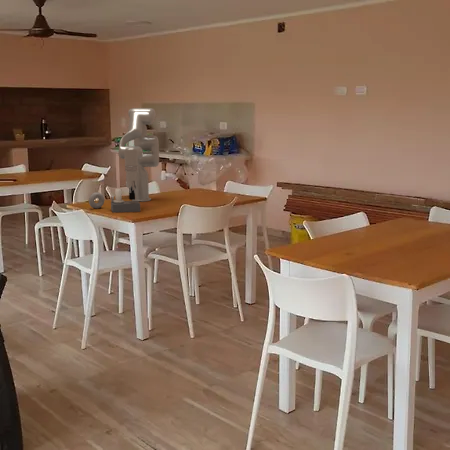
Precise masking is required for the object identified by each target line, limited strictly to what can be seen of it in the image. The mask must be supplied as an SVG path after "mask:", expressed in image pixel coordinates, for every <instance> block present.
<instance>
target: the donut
mask: <svg viewBox="0 0 450 450" xmlns="http://www.w3.org/2000/svg"><path fill="white" fill-rule="evenodd" d="M96 199H98V201H97V202H95V200H96ZM104 203H105V197H104V195H103V193H101V192H96V191H95V192H93V193H91V194H90V195H89V198H88V204H89V206H90V207H91V208H93V209H100V208H102V207H103V206H104Z"/></svg>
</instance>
